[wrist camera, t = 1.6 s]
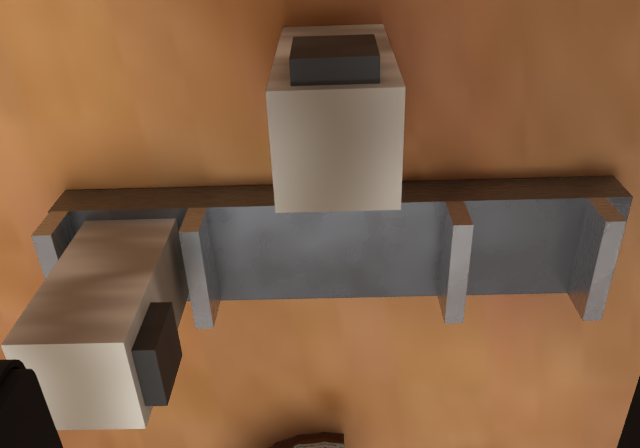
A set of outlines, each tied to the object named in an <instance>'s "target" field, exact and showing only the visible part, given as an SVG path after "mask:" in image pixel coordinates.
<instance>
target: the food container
mask: <svg viewBox="0 0 640 448" xmlns="http://www.w3.org/2000/svg"><path fill="white" fill-rule="evenodd" d="M269 448H344V434H337V433H326V432H323V433H313V434H303V435H297V436H294V437H291V438H288V439H285V440H283V441H280V442H277V443H275V444H274V445H272V446H271V447H269Z"/></svg>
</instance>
